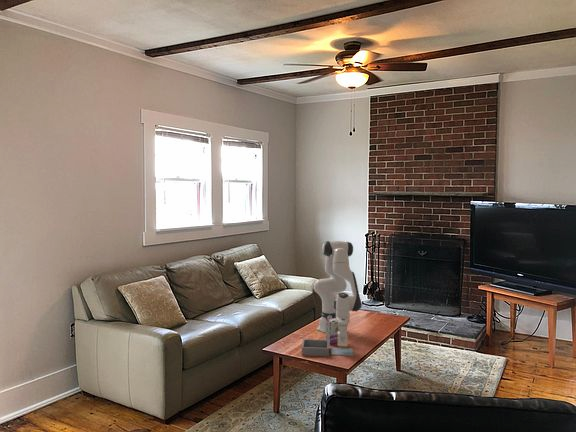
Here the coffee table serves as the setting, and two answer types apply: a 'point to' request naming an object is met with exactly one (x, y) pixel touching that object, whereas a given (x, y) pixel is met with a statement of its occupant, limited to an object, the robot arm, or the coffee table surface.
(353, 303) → the robot arm
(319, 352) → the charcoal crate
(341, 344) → the cream block
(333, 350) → the coaster board
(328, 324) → the candy bar box
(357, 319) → the coffee table surface
